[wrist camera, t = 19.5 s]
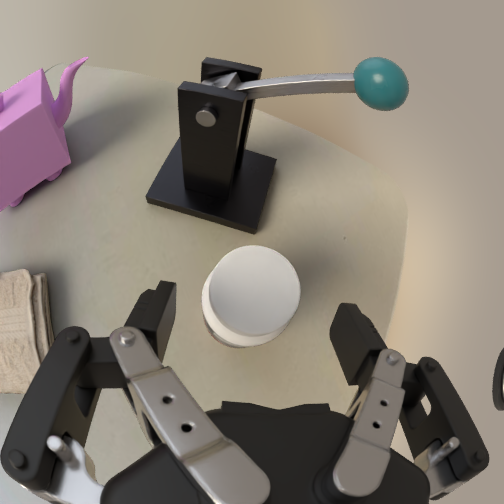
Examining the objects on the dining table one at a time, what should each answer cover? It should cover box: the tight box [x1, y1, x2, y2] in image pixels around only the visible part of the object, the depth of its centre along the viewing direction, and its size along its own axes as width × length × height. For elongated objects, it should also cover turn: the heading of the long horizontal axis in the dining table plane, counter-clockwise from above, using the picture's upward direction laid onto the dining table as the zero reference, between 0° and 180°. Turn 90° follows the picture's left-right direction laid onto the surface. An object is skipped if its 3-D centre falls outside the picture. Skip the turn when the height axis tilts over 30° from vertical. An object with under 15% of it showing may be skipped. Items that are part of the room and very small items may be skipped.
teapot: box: [0, 57, 88, 212], centre depth 19 cm, size 20×10×12 cm, turn 124°
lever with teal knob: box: [201, 57, 409, 111], centre depth 15 cm, size 14×4×4 cm, turn 75°
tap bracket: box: [146, 57, 277, 234], centre depth 21 cm, size 11×9×13 cm
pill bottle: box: [201, 245, 301, 348], centre depth 18 cm, size 6×6×10 cm
